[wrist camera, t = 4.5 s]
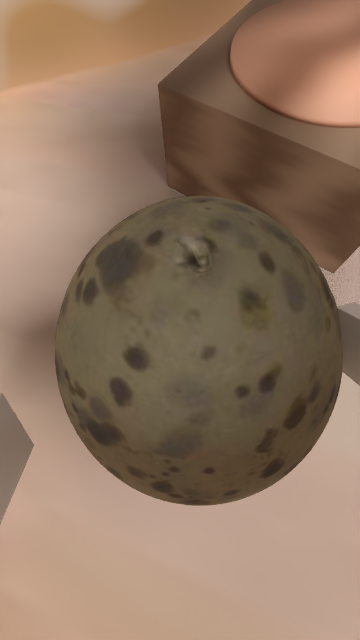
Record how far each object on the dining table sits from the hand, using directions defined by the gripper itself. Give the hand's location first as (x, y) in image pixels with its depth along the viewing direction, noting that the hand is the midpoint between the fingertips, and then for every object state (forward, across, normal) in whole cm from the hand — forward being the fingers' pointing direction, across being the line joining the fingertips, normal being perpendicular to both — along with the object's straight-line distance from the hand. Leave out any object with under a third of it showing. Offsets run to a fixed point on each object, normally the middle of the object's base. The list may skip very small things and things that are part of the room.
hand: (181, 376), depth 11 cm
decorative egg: (+6, +1, -5) cm, 8 cm away
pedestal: (+18, +14, +7) cm, 24 cm away
